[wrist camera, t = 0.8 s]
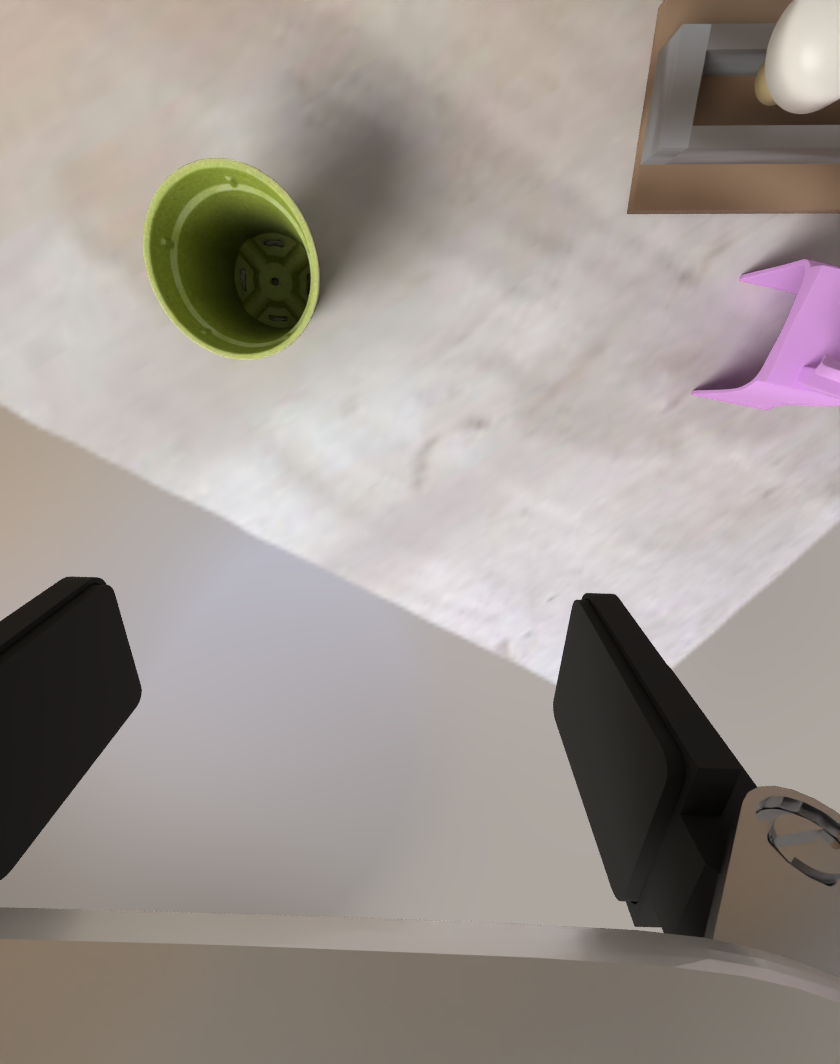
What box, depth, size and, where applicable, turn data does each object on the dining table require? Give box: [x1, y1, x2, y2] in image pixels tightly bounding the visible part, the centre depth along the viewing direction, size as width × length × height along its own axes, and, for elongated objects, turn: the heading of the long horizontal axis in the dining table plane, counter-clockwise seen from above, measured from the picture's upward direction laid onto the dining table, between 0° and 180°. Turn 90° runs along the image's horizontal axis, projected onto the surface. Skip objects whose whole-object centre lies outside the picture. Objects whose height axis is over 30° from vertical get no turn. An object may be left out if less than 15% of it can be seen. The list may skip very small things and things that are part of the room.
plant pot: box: [143, 158, 320, 360], centre depth 28 cm, size 9×9×9 cm
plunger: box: [754, 0, 840, 114], centre depth 22 cm, size 5×5×5 cm
